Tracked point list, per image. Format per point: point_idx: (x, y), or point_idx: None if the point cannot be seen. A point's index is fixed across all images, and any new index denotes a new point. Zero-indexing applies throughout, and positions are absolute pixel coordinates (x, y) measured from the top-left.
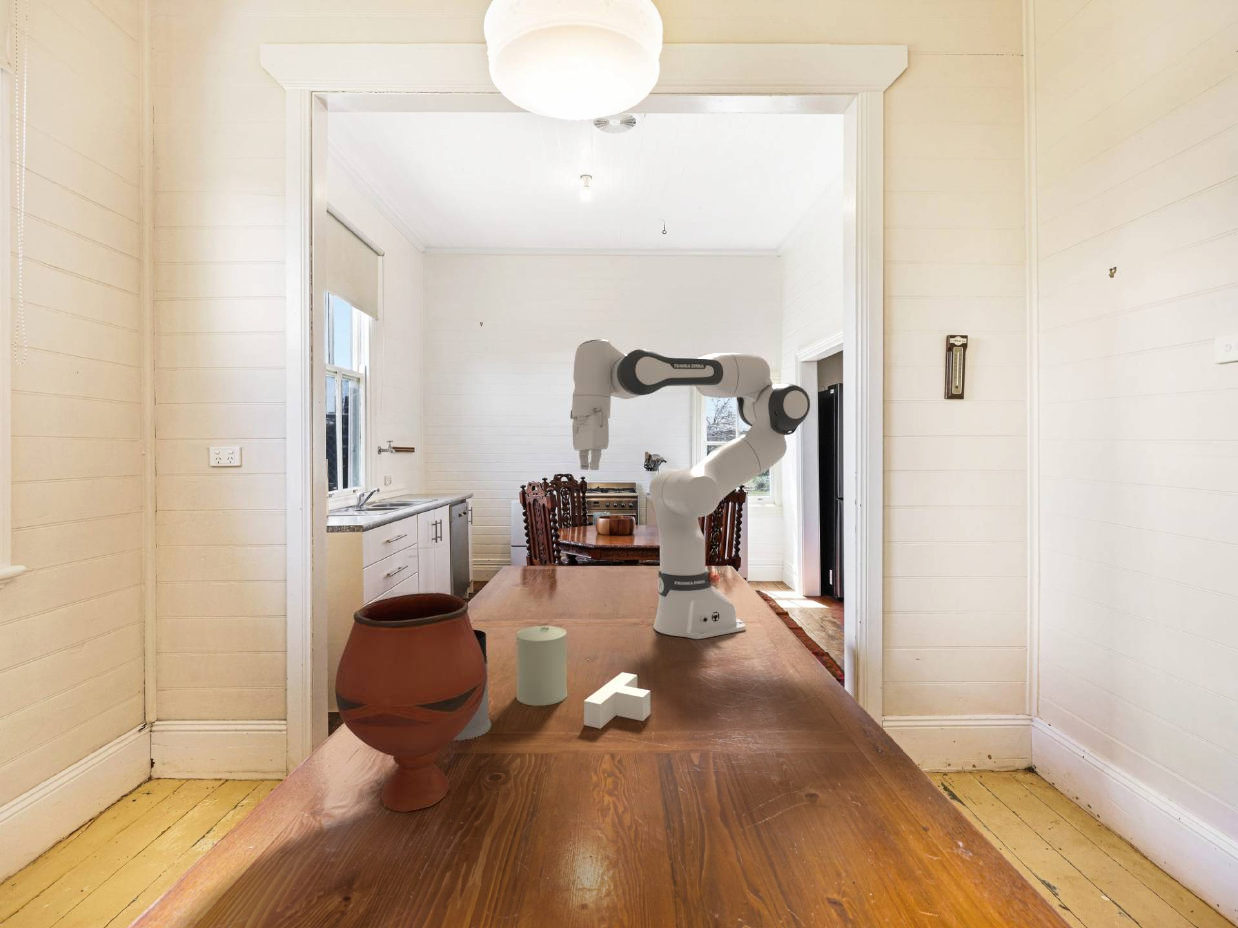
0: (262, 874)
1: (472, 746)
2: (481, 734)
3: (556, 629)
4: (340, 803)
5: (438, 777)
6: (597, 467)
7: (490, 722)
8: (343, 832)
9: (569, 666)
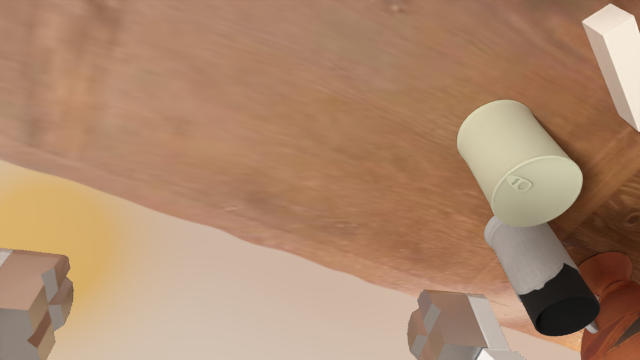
0: None
1: (562, 226)
2: None
3: (535, 166)
4: None
5: (626, 268)
6: (487, 316)
7: None
8: None
9: (410, 56)
